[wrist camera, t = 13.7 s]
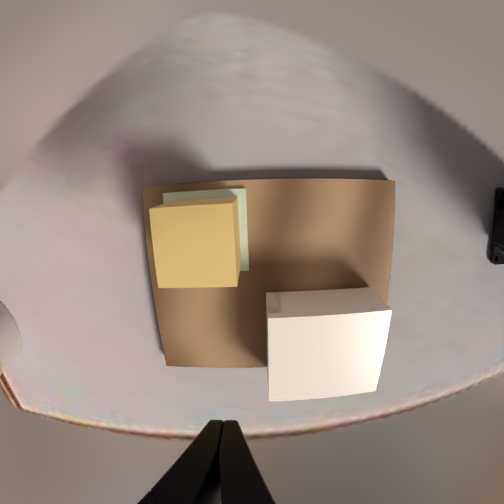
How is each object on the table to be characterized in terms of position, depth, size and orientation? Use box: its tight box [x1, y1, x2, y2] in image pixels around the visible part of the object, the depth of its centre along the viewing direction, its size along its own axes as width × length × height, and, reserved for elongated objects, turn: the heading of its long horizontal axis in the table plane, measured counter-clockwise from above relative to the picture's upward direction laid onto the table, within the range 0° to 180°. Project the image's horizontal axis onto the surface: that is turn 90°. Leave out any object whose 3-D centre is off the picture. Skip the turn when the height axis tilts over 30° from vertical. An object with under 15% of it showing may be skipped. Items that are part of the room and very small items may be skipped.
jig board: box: [142, 178, 395, 368], centre depth 18 cm, size 16×13×3 cm
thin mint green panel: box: [163, 188, 249, 271], centre depth 18 cm, size 5×5×1 cm
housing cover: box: [266, 287, 392, 402], centre depth 18 cm, size 7×6×4 cm
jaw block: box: [149, 197, 241, 288], centre depth 16 cm, size 4×4×4 cm
